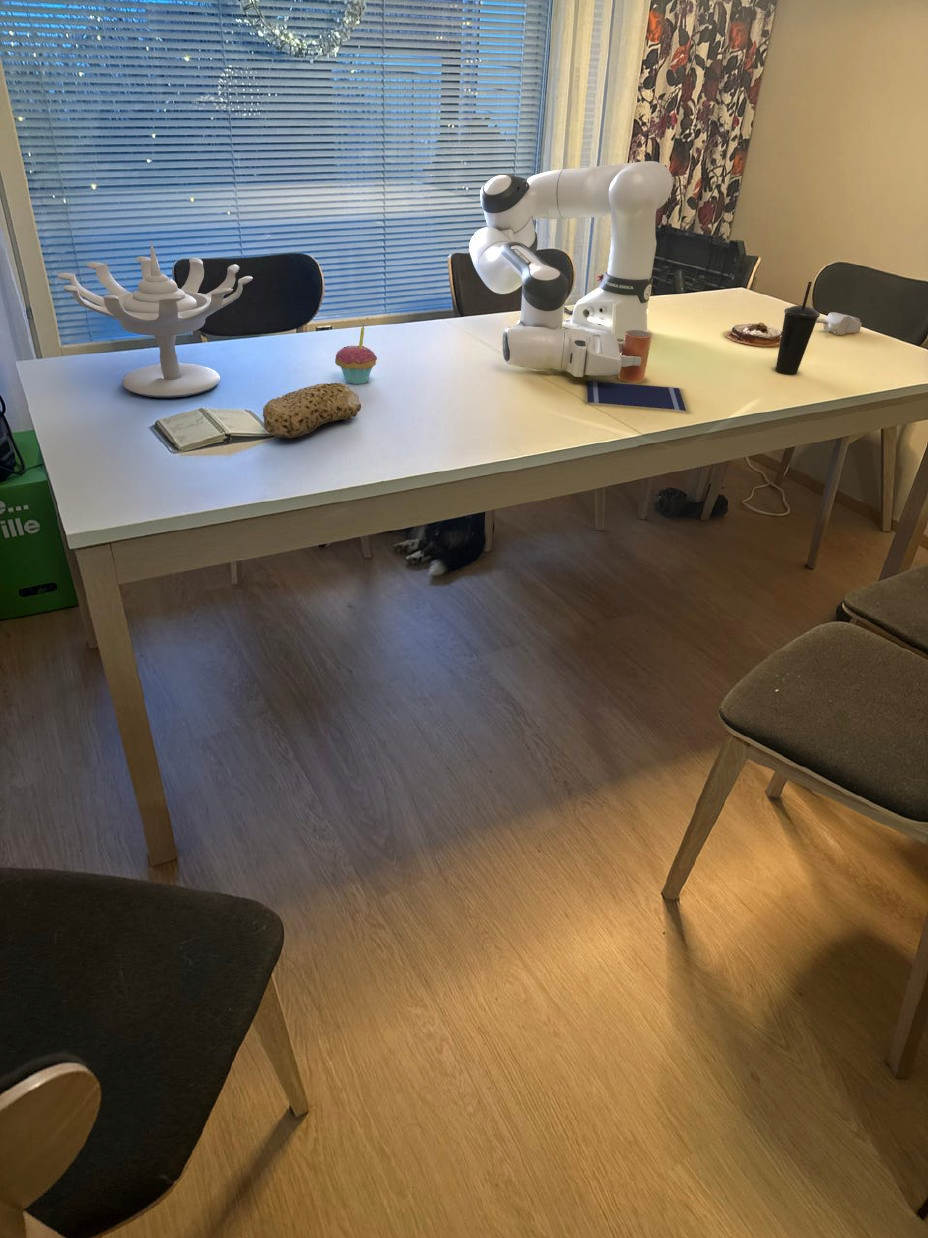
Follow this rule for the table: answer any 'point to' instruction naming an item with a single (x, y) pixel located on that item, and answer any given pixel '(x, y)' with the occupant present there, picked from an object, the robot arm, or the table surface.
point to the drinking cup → (795, 336)
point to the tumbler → (639, 346)
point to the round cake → (755, 334)
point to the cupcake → (356, 362)
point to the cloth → (634, 395)
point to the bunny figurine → (840, 323)
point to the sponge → (309, 409)
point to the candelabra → (161, 320)
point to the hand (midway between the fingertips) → (639, 355)
